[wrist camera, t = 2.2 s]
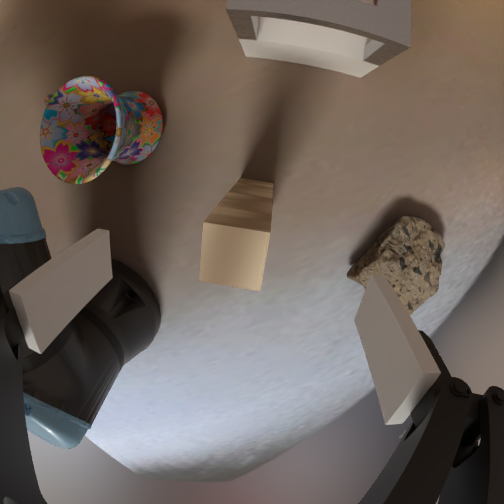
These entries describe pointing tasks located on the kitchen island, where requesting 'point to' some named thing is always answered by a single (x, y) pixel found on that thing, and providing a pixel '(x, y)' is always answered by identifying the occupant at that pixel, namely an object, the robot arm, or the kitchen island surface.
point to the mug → (96, 129)
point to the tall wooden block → (238, 236)
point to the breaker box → (309, 45)
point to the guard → (334, 20)
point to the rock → (404, 261)
